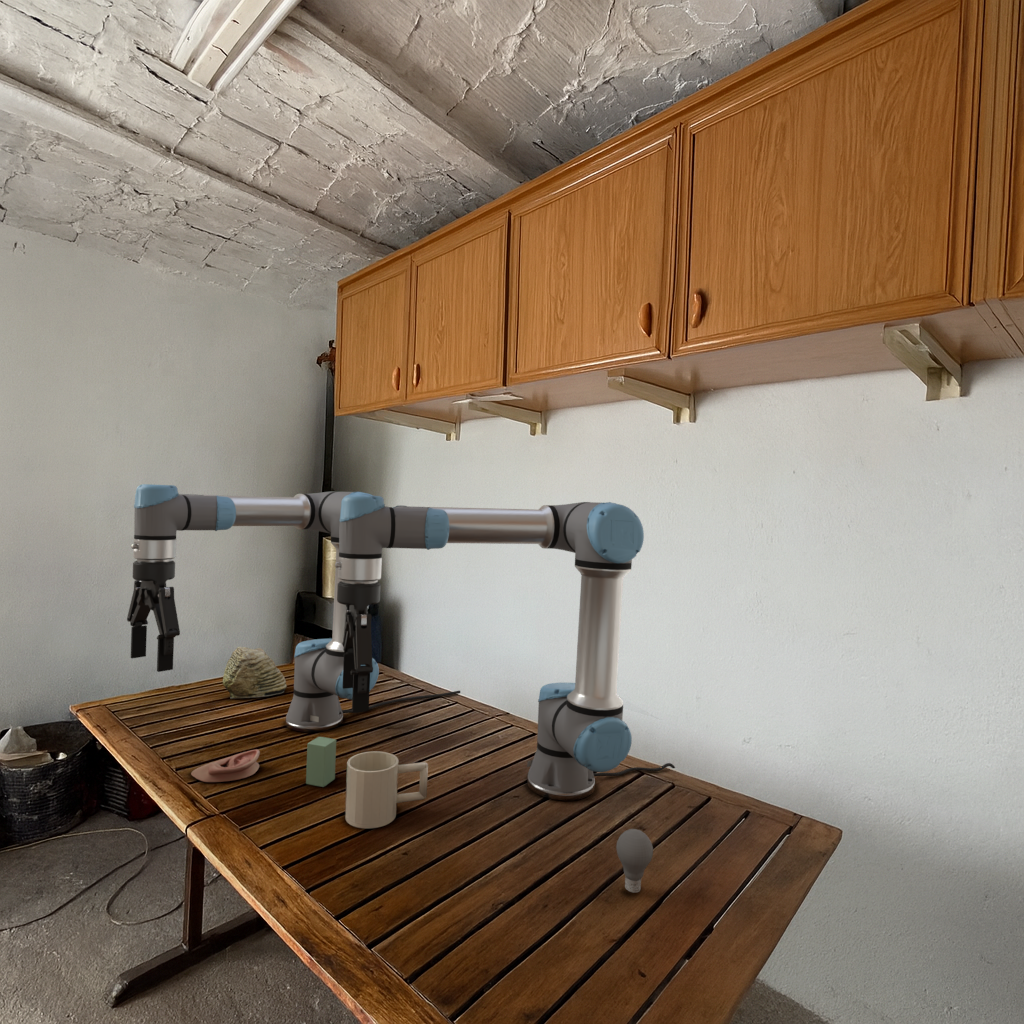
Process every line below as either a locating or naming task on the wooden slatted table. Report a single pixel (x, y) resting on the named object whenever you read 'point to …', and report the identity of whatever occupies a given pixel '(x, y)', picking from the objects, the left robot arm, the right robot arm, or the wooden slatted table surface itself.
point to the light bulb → (634, 857)
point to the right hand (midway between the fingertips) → (354, 698)
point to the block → (321, 761)
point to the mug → (378, 788)
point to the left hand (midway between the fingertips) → (151, 663)
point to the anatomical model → (229, 768)
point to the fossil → (252, 674)
